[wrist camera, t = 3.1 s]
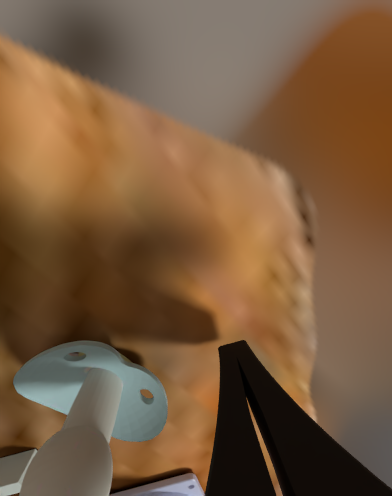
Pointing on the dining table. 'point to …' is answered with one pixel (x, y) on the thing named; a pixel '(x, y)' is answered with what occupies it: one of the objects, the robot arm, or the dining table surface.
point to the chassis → (14, 471)
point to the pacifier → (87, 415)
